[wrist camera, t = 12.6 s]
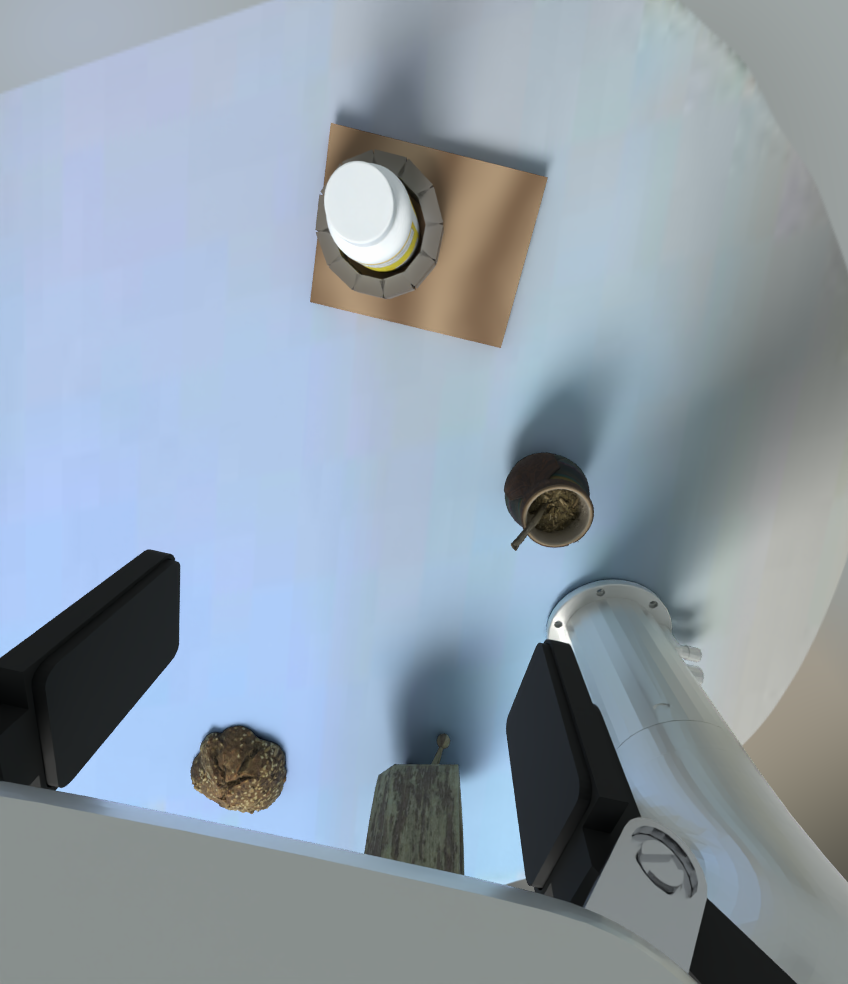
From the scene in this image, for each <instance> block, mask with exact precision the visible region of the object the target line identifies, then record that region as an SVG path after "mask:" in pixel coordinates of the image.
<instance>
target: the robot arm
mask: <svg viewBox="0 0 848 984" xmlns="http://www.w3.org/2000/svg"><path fill="white" fill-rule="evenodd" d="M179 609H180V564H179V562H177V561H175V558H174V556H173V555H172V554H168V553H164V552H159V551H155V550H146V551H144V552H143V553H141V554H140V555H138V556H137V557H136V558H134V559H133V560H132V561H130V562H129V563H128V564H126V565H125V566H124V567H122V568H121V569H120V570H118V571H117V572H116V573H114V574H113V575H112V576H110V577H109V578H107V579H106V580H105V581H103V582H102V583H101V584H99V585H98V586H97V587H95V588H94V589H93V590H91V591H90V592H89V593H87V594H86V595H85V596H83V597H82V598H80V599H79V600H78V601H76V602H75V603H74V604H72V605H71V606H70V607H68V608H67V609H66V610H64V611H63V612H62V613H60V614H59V615H58V616H56V617H55V618H54V619H52V620H51V621H49V622H48V623H47V624H45V625H44V626H43V627H41V628H40V629H39V630H37V631H36V632H35V633H33V634H32V635H31V636H29V637H28V638H27V639H25V640H24V641H23V642H21V643H20V644H18V645H17V646H16V647H14V648H13V649H12V650H10V651H9V652H8V653H6V654H5V655H4V656H2V657H1V658H0V984H848V882H847V881H846V880H845V879H844V878H843V877H842V875H841V874H840V873H839V872H838V871H837V870H836V869H835V868H834V866H833V865H832V864H831V863H830V862H829V860H828V859H827V858H826V857H825V856H824V855H823V853H822V852H821V851H820V850H819V848H818V847H817V846H816V845H815V843H814V842H813V841H812V840H811V839H810V837H809V836H808V835H807V834H806V832H805V831H804V830H803V829H802V827H801V826H800V825H799V824H798V823H797V821H796V820H795V819H794V818H793V816H792V815H791V814H790V813H789V811H788V810H787V808H786V807H785V806H784V804H783V803H782V801H781V800H780V799H779V798H778V796H777V795H776V793H775V792H774V791H773V789H772V788H771V787H770V785H769V784H768V782H767V781H766V780H765V778H764V777H763V776H762V774H761V773H760V771H759V770H758V769H757V767H756V766H755V764H754V763H753V761H752V760H751V758H750V757H749V756H748V754H747V753H746V751H745V750H744V748H743V747H742V745H741V744H740V743H739V741H738V740H737V738H736V737H735V735H734V734H733V732H732V731H731V729H730V728H729V727H728V725H727V724H726V722H725V721H724V719H723V718H722V716H721V715H720V713H719V712H718V710H717V709H716V708H715V706H714V705H713V703H712V702H711V700H710V699H709V697H708V696H707V694H706V693H705V692H704V690H703V689H702V687H701V686H700V685H701V684H702V683H703V679H704V676H703V672H702V669H701V668H699V667H697V666H693V665H688V664H685V662H684V661H683V659H685V660H690V661H694V662H699V661H700V660H701V657H702V654H701V651H700V649H698V648H696V647H691V646H687V645H685V646H684V645H679V643H678V642H677V641H676V639H675V638H674V636H673V635H672V623H671V617H670V615H669V612H668V610H667V608H666V607H665V605H664V604H663V603H662V601H661V600H660V599H659V598H658V597H657V596H656V595H655V593H653V592H652V591H650V590H649V589H647V588H646V587H644V586H642V585H639V584H637V583H634V582H630V581H626V580H614V579H611V580H601V581H596V582H592V583H589V584H586V585H584V586H581V587H579V588H577V589H575V590H574V591H572V592H571V593H569V594H567V595H566V596H565V597H564V598H563V599H562V600H561V601H560V602H559V603H558V604H557V605H556V607H555V608H554V609H553V611H552V613H551V615H550V617H549V619H548V623H547V628H546V638H547V639H546V640H545V642H544V644H543V643H538V644H537V646H536V648H535V650H534V653H533V655H532V658H531V660H530V663H529V665H528V668H527V670H526V673H525V675H524V678H523V680H522V683H521V685H520V688H519V690H518V693H517V695H516V698H515V700H514V702H513V705H512V707H511V710H510V712H509V715H508V718H507V723H506V734H507V741H508V749H509V756H510V764H511V771H512V779H513V786H514V794H515V801H516V809H517V817H518V824H519V832H520V839H521V847H522V854H523V862H524V869H525V876H526V880H527V883H528V885H529V886H533V887H534V890H535V892H532V891H527V890H524V889H519V888H515V887H510V886H507V885H502V884H498V883H494V882H490V881H485V880H481V879H477V878H473V877H469V876H464V875H460V874H455V873H451V872H446V871H442V870H437V869H432V868H428V867H423V866H418V865H414V864H409V863H404V862H400V861H395V860H390V859H386V858H381V857H377V856H372V855H367V854H363V853H358V852H353V851H349V850H344V849H339V848H335V847H330V846H325V845H320V844H315V843H311V842H306V841H301V840H296V839H292V838H287V837H282V836H277V835H273V834H268V833H263V832H258V831H253V830H249V829H244V828H239V827H234V826H229V825H225V824H220V823H215V822H210V821H205V820H200V819H196V818H191V817H186V816H181V815H176V814H171V813H166V812H161V811H156V810H151V809H146V808H141V807H136V806H131V805H127V804H122V803H117V802H112V801H107V800H102V799H97V798H92V797H87V796H82V795H76V794H71V793H65V792H60V791H55V790H56V789H57V788H58V787H60V788H63V787H65V786H66V785H68V784H69V783H70V782H71V781H72V780H73V779H74V777H75V776H76V775H77V774H78V773H79V771H80V770H81V769H82V768H83V767H84V765H85V764H86V763H87V762H88V761H89V759H90V758H91V757H92V756H93V755H94V753H95V752H96V751H97V750H98V749H99V747H100V746H101V745H102V744H103V743H104V741H105V740H106V739H107V738H108V737H109V735H110V734H111V733H112V732H113V730H114V729H115V728H116V727H117V726H118V724H119V723H120V722H121V721H122V720H123V718H124V717H125V716H126V715H127V714H128V712H129V711H130V710H131V709H132V708H133V706H134V705H135V704H136V703H137V702H138V700H139V699H140V698H141V697H142V696H143V694H144V693H145V692H146V691H147V690H148V688H149V687H150V686H151V685H152V684H153V682H154V681H155V680H156V679H157V678H158V676H159V675H160V674H161V673H162V671H163V670H164V669H165V668H166V667H167V665H168V664H169V663H170V662H171V661H172V659H173V658H174V656H175V655H176V652H177V650H178V646H179ZM682 658H683V659H682Z"/></svg>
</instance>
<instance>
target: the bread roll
mask: <svg viewBox="0 0 848 984" xmlns="http://www.w3.org/2000/svg"><path fill="white" fill-rule="evenodd" d="M190 773H191V779H192V784H193V785H194V789H196V790H197V791H199V792H200V793H202V794H204V795H205V796H206V797H207V798H209V799H210V800H213V801H214V802H216V803H218V804H219V806H221V807H223V808H226V809H228V810H235V811H236V810H238V811H240V812H243V813H244V812H249V813H250V814H253V813H254V811H255V810H257V811H258V812H259V810H264V809H267V808H268V807H269V806H270V805H272V803H273V802H275V800H276V799H277V798H278V797H279V796H280V794H281V791H282V789H283V785H284V782H285V781H286V769H285V755H284V752H283V751H282V749H281V748H280V746H279V745H277V744H275V743H272V742H268V741H266V740H261V739H259V738H258V737H256V736H255V735H254V734H253V732H252V731H251V730H250V729H248V728H246V727H244V726H234V727H230V728H227V729H225V730H224V732H223V733H218V732H215V733H210V734H209V735H207V737H206V738H205V740H204V741H203V742H202V743H201V746H200V753H199V754H198V756H197V757H196V758H195V759H194V761H193V763H192V767H191V772H190Z"/></svg>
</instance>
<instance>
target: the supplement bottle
mask: <svg viewBox="0 0 848 984" xmlns="http://www.w3.org/2000/svg"><path fill="white" fill-rule="evenodd" d="M324 206H325V212H326V218H327V224H328V228H329V231H330V234H331V236H332V238H333V240H334V241H335V243H336V244H337V246H338V247H339V248H340V249H341V250H342V251H343V252H344V253H345V254H346V255H347V256H348V257H350V258H351V259H353V260H355V261H356V262H358V263H360V264H362V265H363V266H365V267H367V268H369V269H371V270H373V271H376V272H380V273H391V272H395V271H398V270H400V269H402V268H403V267H405V266H406V265H407V264H408V263H409V262H410V261H411V260H412V258H413V257H414V255H415V253H416V251H417V248H418V244H419V239H420V228H419V223H418V218H417V215H416V213H415V210H414V208H413V205H412V203H411V200H410V198H409V195H408V193H407V191H406V189H405V187H404V185H403V184H402V182H401V181H400V180H399V178H398V177H397V176H396V175H395V174H394V173H393V172H391V171H390V170H389V169H387V168H385V167H383V166H381V165H378V164H374V163H367V162H364V161H352V162H348V163H345V164H343V165H342V166H340V167H339V168H338V169H337V170H335V171H334V173H333V174H332V175H331V177H330V179H329V181H328V183H327V186H326V189H325V195H324Z"/></svg>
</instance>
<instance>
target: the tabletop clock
mask: <svg viewBox="0 0 848 984" xmlns="http://www.w3.org/2000/svg"><path fill="white" fill-rule="evenodd" d="M437 744H438V746H439V749H438V751H437V753H436V755H435V757H434V760H433V762H432V763H431V764H394V765H393V766H391V767H390V768H388V769H387V770H386V771H384V772H383V773H381V774H380V775H379V776H378V779H377V783H376V787H375V792H374V798H373V804H372V809H371V815H370V820H369V827H368V833H367V839H366V846H365V852H364V854H367V855H372V856H377V857H381V858H386V859H390V860H395V861H400V862H404V863H409V864H414V865H418V866H423V867H428V868H432V869H437V870H442V871H446V872H451V873H455V874H460V875H464V846H463V822H462V806H461V790H460V777H459V766H458V764H439V763H440V759H441V755H442V751H443V749H445V748H448V746H449V744H450V739H449V736H448V735H447V734H440V735H439V736H438V738H437Z"/></svg>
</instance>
